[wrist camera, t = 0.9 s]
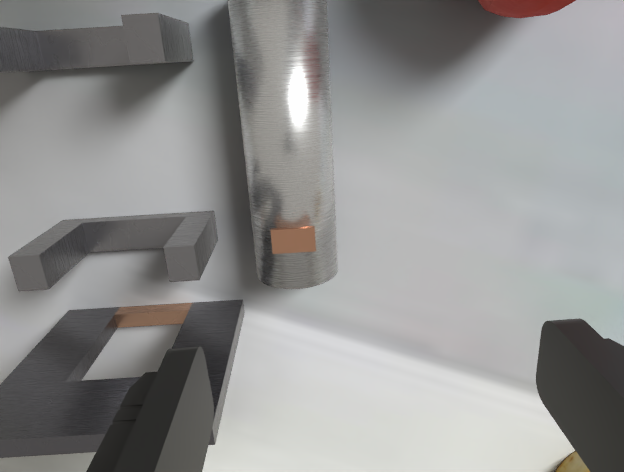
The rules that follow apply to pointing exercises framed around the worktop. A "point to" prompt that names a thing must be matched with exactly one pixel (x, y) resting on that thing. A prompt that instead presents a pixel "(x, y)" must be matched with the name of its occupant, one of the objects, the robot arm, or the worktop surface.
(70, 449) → the frame
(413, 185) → the worktop surface
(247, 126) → the tube
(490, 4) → the vegetable
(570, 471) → the pastry
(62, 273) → the grey u-shaped bracket
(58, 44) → the grey metal blocks
